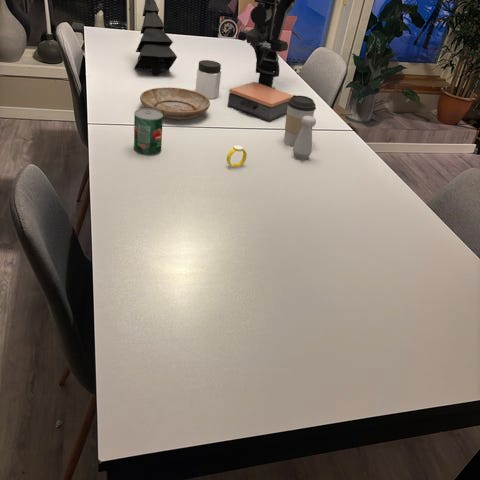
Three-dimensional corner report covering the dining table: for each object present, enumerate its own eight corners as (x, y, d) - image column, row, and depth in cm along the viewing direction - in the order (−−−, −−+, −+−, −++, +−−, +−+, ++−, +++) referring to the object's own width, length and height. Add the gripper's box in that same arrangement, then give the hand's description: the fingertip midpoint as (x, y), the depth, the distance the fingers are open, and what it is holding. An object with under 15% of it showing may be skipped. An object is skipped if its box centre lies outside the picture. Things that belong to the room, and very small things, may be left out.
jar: (222, 98, 191) (226, 66, 184) (205, 100, 186) (208, 67, 179) (208, 90, 196) (211, 58, 189) (191, 92, 191) (193, 60, 184)
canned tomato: (163, 156, 144) (165, 119, 138) (135, 156, 141) (136, 119, 135) (158, 144, 150) (160, 108, 144) (132, 144, 148) (132, 108, 141)
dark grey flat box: (251, 97, 195) (253, 85, 192) (291, 112, 188) (293, 99, 185) (224, 107, 183) (226, 94, 180) (266, 123, 175) (268, 109, 172)
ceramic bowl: (171, 95, 186) (172, 82, 183) (222, 115, 176) (223, 101, 173) (125, 109, 169) (125, 94, 166) (178, 131, 160) (179, 116, 157)
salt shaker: (290, 152, 158) (298, 112, 150) (307, 153, 159) (316, 114, 151) (293, 160, 153) (301, 119, 146) (311, 162, 154) (321, 121, 147)
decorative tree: (170, 79, 211) (161, -5, 210) (178, 67, 197) (170, -23, 196) (134, 78, 205) (126, -8, 205) (141, 66, 192) (132, -26, 191)
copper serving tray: (253, 84, 192) (254, 81, 192) (293, 98, 185) (294, 95, 184) (229, 92, 181) (229, 88, 180) (271, 107, 173) (271, 104, 173)
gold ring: (240, 163, 147) (244, 144, 144) (246, 167, 146) (250, 148, 142) (223, 165, 144) (227, 145, 141) (229, 169, 142) (232, 149, 139)
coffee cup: (310, 141, 167) (320, 97, 159) (304, 151, 160) (314, 105, 151) (284, 134, 169) (292, 90, 160) (277, 144, 162) (285, 98, 153)
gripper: (231, 16, 177) (226, 61, 186) (276, 28, 169) (268, 75, 178) (249, 13, 185) (243, 56, 193) (292, 25, 177) (284, 70, 186)
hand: (259, 64), depth 187 cm, fingers closed
